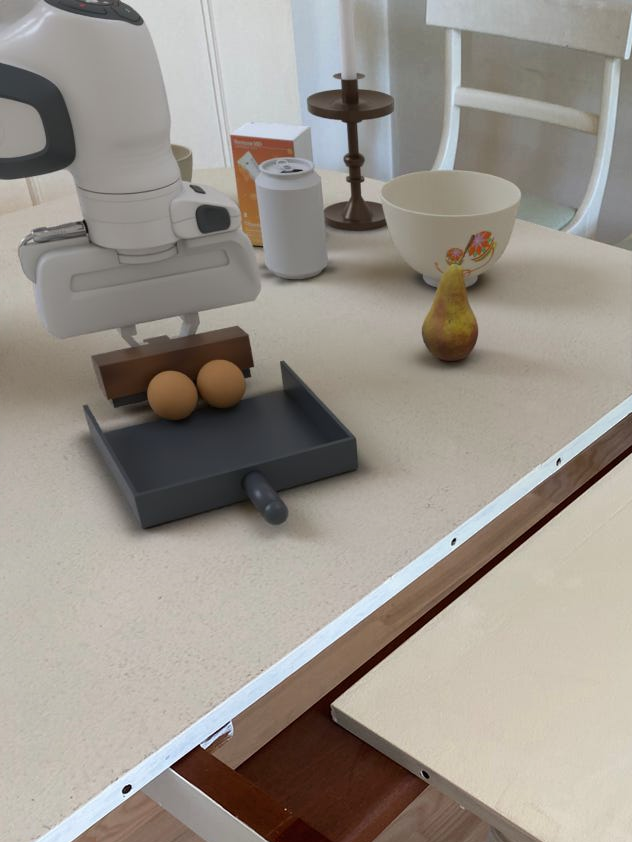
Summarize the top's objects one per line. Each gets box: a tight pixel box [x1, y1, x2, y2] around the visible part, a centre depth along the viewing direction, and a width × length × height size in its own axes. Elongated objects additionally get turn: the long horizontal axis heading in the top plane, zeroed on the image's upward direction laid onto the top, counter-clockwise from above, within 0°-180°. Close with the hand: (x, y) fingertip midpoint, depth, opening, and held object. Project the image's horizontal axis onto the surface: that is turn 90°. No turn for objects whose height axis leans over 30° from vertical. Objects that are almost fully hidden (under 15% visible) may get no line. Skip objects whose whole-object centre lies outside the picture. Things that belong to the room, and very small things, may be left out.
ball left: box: [147, 371, 199, 420], centre depth 89 cm, size 4×4×4 cm
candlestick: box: [306, 0, 395, 232], centre depth 119 cm, size 11×11×35 cm
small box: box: [229, 121, 314, 247], centre depth 120 cm, size 8×6×13 cm
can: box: [255, 157, 329, 280], centre depth 113 cm, size 8×8×12 cm
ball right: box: [197, 360, 246, 408], centre depth 90 cm, size 4×4×4 cm
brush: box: [90, 325, 255, 409], centre depth 93 cm, size 14×8×4 cm, turn 120°
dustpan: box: [82, 360, 359, 529], centre depth 83 cm, size 22×19×3 cm
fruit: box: [421, 235, 479, 362], centre depth 97 cm, size 6×6×12 cm
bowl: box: [379, 169, 522, 289], centre depth 113 cm, size 16×16×10 cm
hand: (166, 360), depth 95 cm, fingers closed on brush, 2 cm apart
